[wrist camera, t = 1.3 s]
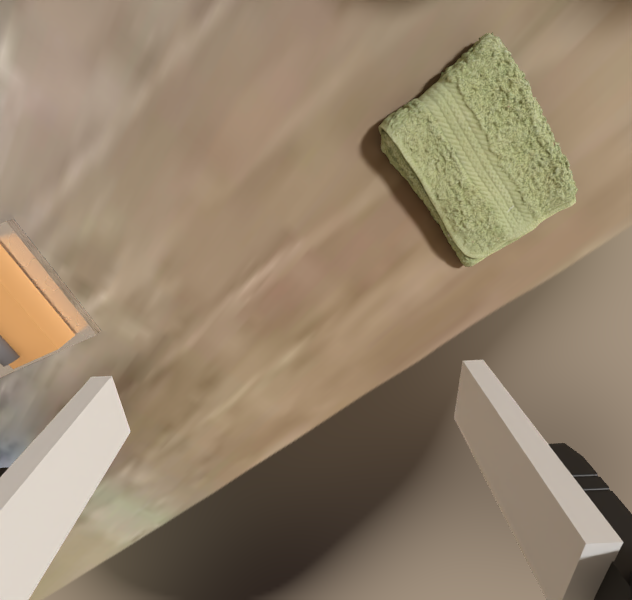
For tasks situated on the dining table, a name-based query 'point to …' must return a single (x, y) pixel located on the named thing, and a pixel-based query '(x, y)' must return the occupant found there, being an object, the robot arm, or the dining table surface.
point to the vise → (45, 287)
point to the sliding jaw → (26, 318)
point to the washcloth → (480, 153)
